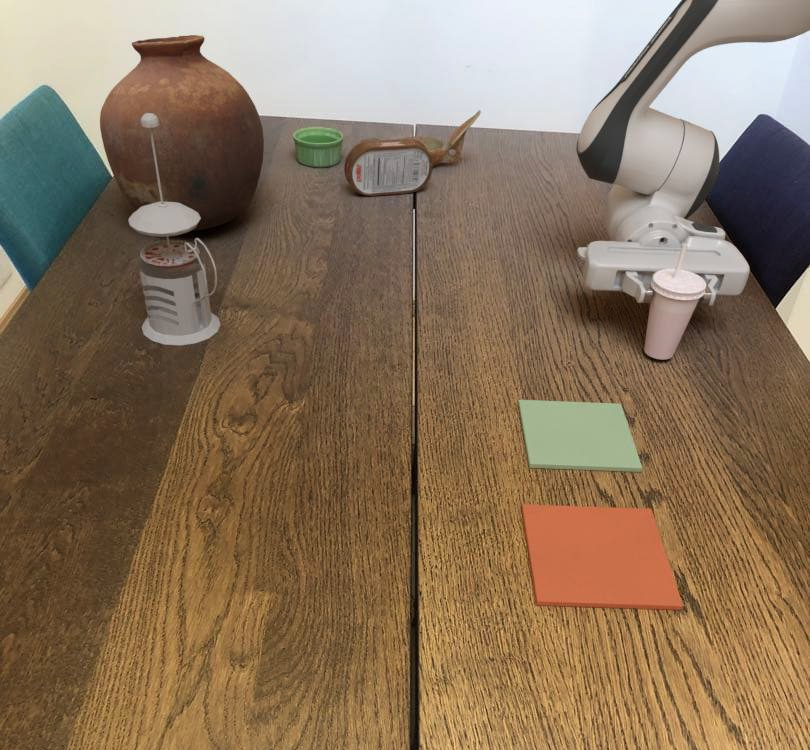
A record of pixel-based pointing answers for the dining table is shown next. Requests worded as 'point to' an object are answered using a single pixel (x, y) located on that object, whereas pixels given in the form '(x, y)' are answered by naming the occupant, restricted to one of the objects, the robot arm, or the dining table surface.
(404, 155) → the tin
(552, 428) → the sage mat
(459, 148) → the oil lamp
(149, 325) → the french press
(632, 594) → the terracotta mat
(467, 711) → the dining table surface
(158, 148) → the pottery
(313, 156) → the ramekin
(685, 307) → the smoothie
